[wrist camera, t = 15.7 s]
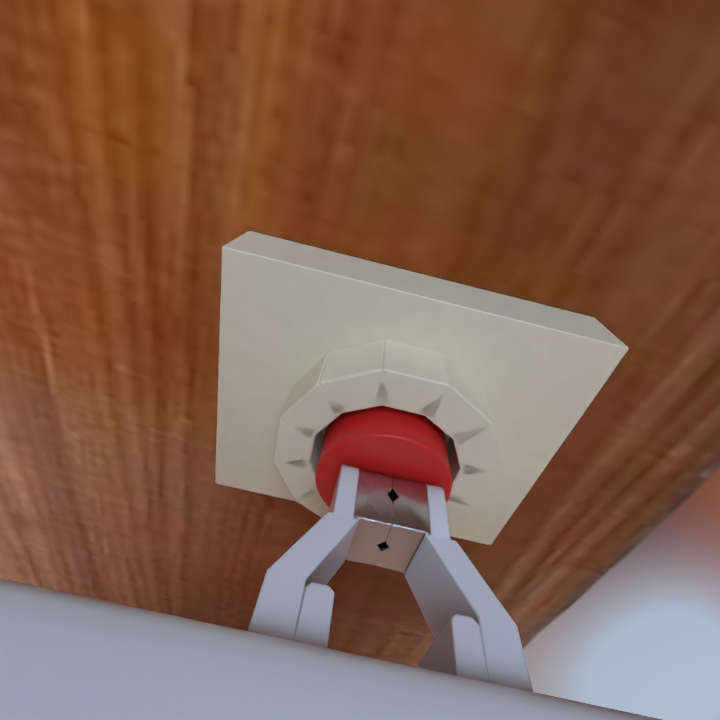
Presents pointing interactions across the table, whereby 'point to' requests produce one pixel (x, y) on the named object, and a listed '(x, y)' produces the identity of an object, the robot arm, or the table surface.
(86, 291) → the table surface
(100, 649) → the robot arm
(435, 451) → the stop button
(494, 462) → the block
